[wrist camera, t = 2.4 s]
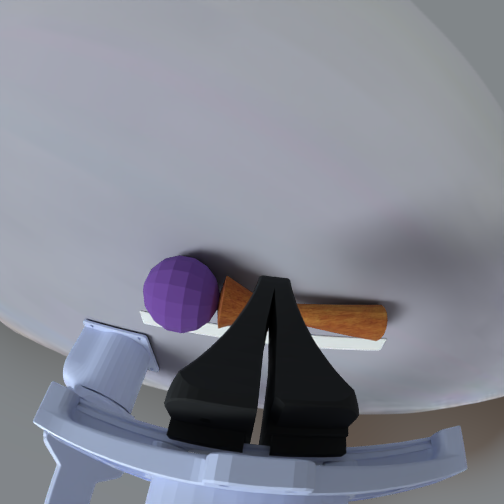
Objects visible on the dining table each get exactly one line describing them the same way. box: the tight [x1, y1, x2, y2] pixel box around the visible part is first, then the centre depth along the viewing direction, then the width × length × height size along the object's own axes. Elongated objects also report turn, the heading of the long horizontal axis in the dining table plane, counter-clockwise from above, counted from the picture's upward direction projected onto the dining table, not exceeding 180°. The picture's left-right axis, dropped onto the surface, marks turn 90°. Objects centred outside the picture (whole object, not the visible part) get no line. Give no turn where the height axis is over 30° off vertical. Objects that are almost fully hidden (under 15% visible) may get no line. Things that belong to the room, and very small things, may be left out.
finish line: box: [140, 311, 387, 351], centre depth 27 cm, size 26×2×1 cm, turn 87°
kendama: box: [143, 255, 387, 341], centre depth 22 cm, size 6×6×20 cm
